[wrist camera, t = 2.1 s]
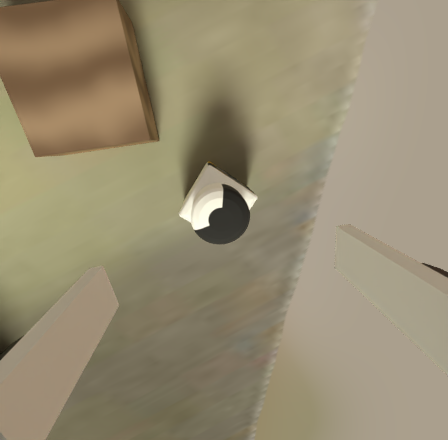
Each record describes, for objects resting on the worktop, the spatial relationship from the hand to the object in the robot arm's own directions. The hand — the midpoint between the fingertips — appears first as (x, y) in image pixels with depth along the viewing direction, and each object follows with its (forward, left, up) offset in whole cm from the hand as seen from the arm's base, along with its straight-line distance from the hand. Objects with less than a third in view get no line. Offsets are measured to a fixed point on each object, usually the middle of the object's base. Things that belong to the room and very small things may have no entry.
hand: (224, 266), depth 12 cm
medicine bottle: (0, 0, -21) cm, 21 cm away
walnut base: (+15, +13, -21) cm, 28 cm away
